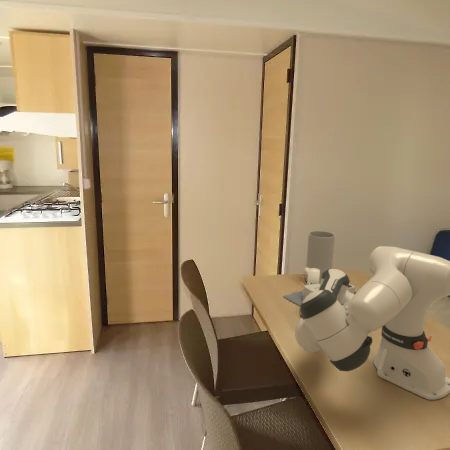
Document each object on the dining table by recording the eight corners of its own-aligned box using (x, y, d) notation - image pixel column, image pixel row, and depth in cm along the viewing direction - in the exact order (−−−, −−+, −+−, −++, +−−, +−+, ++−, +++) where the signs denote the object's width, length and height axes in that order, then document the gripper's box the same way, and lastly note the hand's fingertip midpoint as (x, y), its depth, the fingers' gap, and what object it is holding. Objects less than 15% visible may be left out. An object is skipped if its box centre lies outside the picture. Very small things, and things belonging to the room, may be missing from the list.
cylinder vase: (335, 284, 183) (340, 236, 177) (313, 287, 179) (317, 238, 173) (321, 275, 195) (325, 230, 189) (300, 278, 191) (304, 231, 185)
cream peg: (319, 300, 164) (322, 271, 161) (309, 302, 162) (312, 272, 159) (309, 293, 172) (311, 264, 168) (300, 294, 170) (302, 265, 167)
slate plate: (340, 303, 163) (341, 302, 163) (312, 313, 153) (312, 311, 153) (311, 289, 178) (311, 288, 178) (283, 297, 168) (283, 296, 168)
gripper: (312, 305, 145) (295, 291, 158) (356, 300, 151) (336, 287, 164) (313, 290, 143) (296, 277, 156) (358, 285, 149) (338, 273, 162)
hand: (317, 282), depth 160 cm, fingers open, 8 cm apart
